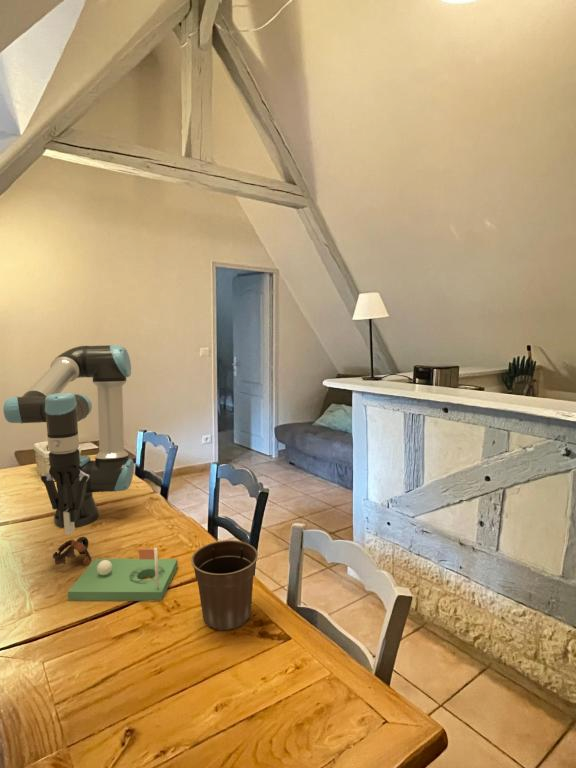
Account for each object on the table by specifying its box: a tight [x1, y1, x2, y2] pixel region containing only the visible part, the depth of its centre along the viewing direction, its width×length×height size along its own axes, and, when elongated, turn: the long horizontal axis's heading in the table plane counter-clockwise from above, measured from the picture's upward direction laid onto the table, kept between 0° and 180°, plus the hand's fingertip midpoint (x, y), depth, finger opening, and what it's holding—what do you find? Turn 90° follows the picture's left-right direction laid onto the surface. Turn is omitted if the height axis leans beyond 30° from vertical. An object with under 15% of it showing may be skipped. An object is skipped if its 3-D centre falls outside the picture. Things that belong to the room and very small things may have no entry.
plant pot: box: [190, 539, 259, 631], centre depth 115 cm, size 16×16×16 cm
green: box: [67, 558, 179, 602], centre depth 131 cm, size 25×17×2 cm
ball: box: [97, 560, 112, 575], centre depth 130 cm, size 4×4×4 cm
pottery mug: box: [52, 536, 92, 567], centre depth 142 cm, size 12×10×8 cm
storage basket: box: [32, 440, 82, 482], centre depth 222 cm, size 24×16×15 cm
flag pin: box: [138, 547, 159, 590], centre depth 123 cm, size 1×5×14 cm, turn 89°
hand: (69, 532), depth 128 cm, fingers closed
